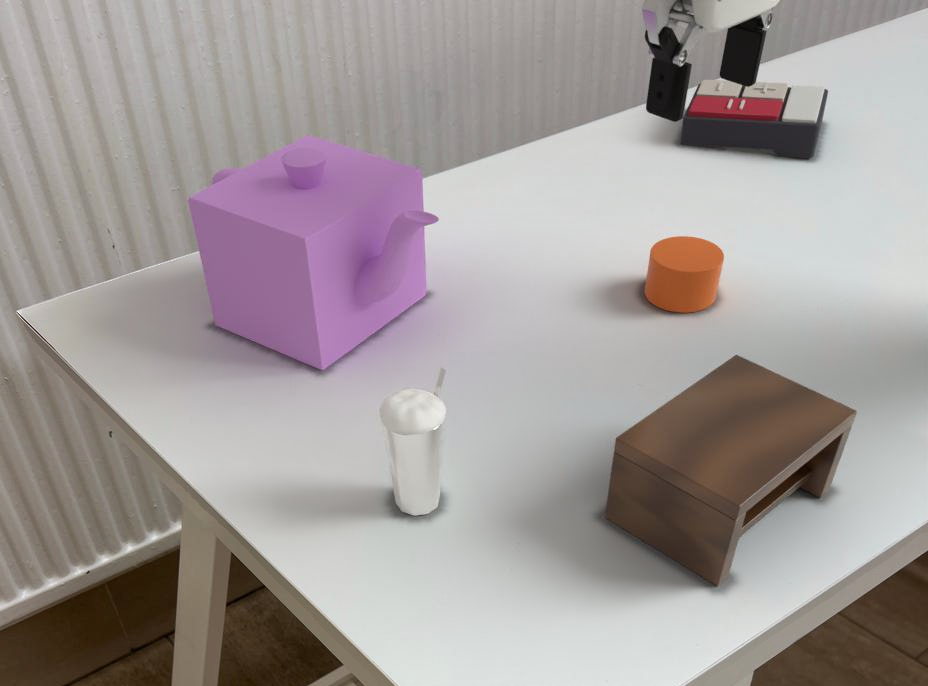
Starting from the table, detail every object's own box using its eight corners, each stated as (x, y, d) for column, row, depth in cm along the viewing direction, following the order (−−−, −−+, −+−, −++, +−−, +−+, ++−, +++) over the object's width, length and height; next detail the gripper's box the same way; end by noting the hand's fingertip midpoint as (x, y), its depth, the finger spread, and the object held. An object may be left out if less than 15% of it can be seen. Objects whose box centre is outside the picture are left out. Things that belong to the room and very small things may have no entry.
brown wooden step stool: (828, 491, 72) (857, 410, 67) (717, 586, 66) (739, 506, 61) (717, 433, 77) (736, 353, 72) (604, 517, 71) (615, 437, 65)
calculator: (699, 75, 117) (830, 81, 113) (695, 113, 120) (822, 120, 116) (683, 110, 110) (821, 118, 106) (679, 150, 113) (813, 158, 109)
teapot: (388, 398, 81) (375, 235, 70) (177, 309, 91) (139, 155, 80) (489, 317, 89) (492, 160, 78) (286, 243, 99) (264, 95, 88)
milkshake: (468, 495, 73) (467, 381, 65) (417, 531, 70) (410, 416, 63) (426, 469, 75) (420, 355, 67) (374, 502, 72) (363, 388, 65)
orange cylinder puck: (730, 293, 91) (738, 252, 88) (687, 321, 88) (695, 279, 85) (673, 269, 94) (679, 228, 91) (630, 294, 91) (635, 254, 88)
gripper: (721, -148, 59) (673, 145, 72) (868, -190, 67) (801, 81, 80) (623, -167, 62) (595, 116, 75) (774, -204, 70) (725, 58, 83)
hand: (701, 98), depth 77 cm, fingers open, 9 cm apart
